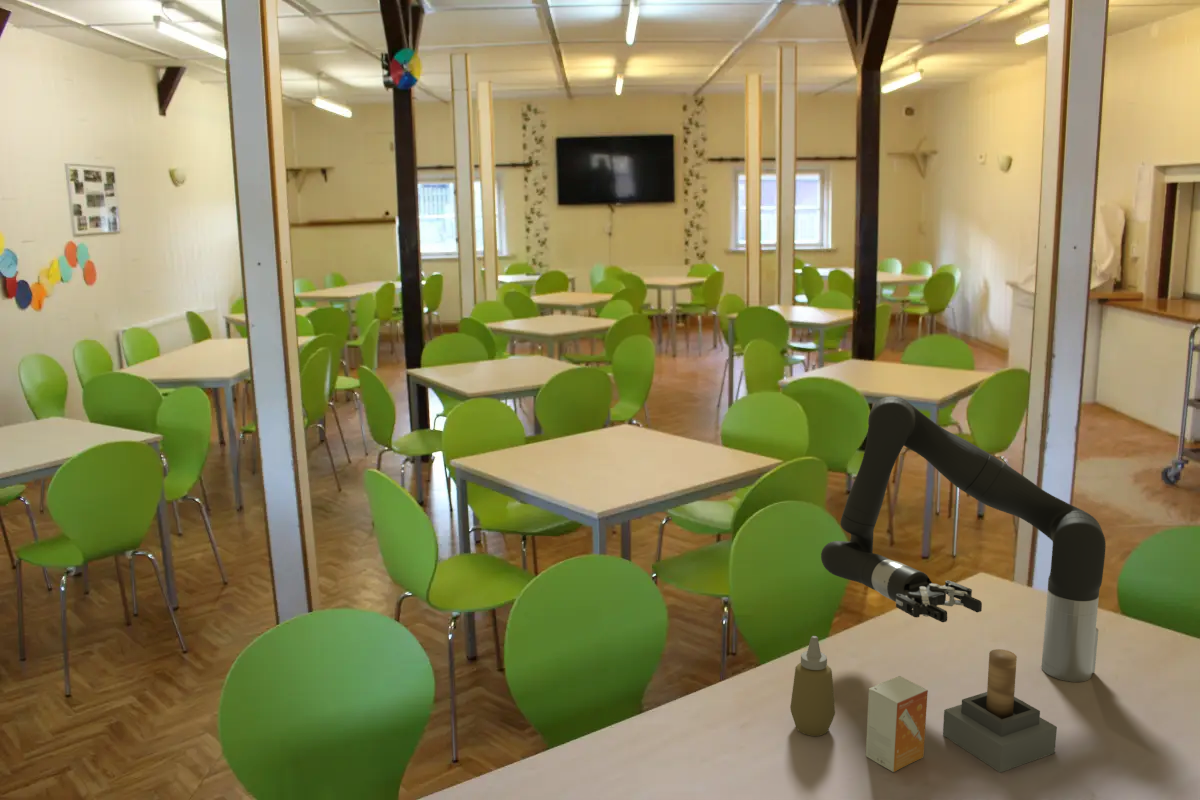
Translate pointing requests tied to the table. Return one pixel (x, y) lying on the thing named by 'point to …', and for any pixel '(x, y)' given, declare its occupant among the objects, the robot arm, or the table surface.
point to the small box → (896, 723)
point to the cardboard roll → (1001, 683)
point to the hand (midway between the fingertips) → (963, 612)
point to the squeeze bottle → (813, 692)
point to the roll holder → (999, 733)
